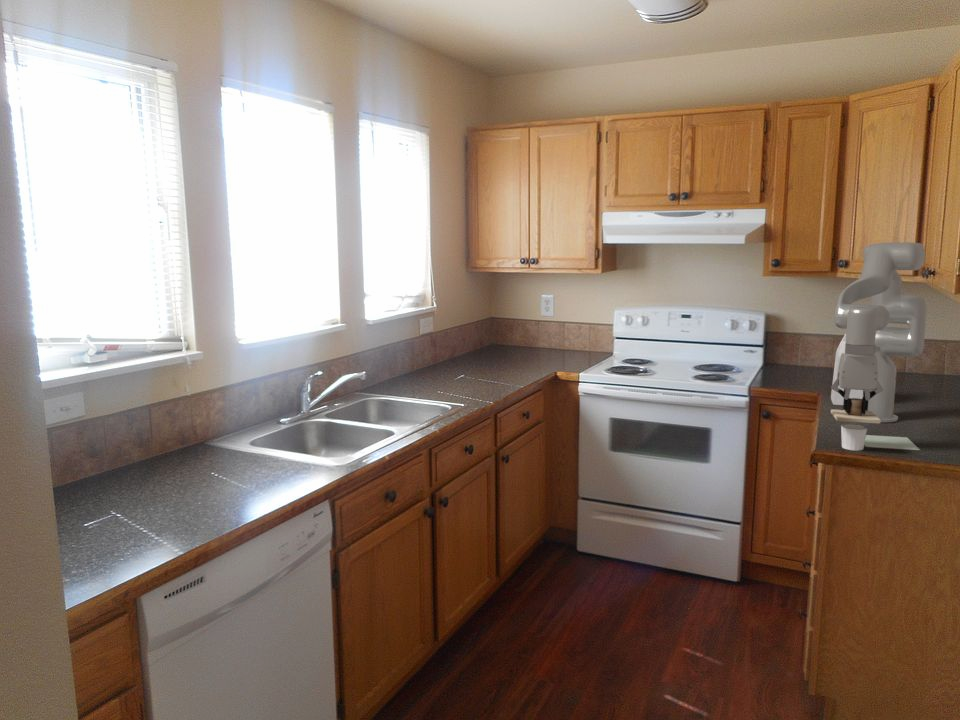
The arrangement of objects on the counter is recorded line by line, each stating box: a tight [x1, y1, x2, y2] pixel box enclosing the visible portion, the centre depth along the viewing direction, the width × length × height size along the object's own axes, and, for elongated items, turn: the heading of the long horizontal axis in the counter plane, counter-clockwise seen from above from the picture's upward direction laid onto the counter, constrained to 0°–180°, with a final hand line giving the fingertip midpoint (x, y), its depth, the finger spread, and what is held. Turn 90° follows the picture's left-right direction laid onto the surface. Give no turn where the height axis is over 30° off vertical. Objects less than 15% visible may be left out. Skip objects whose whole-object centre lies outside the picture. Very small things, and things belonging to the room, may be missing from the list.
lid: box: [830, 398, 881, 424], centre depth 208 cm, size 11×11×6 cm
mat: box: [864, 434, 921, 451], centre depth 215 cm, size 14×14×1 cm
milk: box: [830, 333, 863, 406], centre depth 268 cm, size 12×12×26 cm
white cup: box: [840, 423, 868, 451], centre depth 209 cm, size 7×7×7 cm
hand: (855, 412), depth 208 cm, fingers closed on lid, 3 cm apart
